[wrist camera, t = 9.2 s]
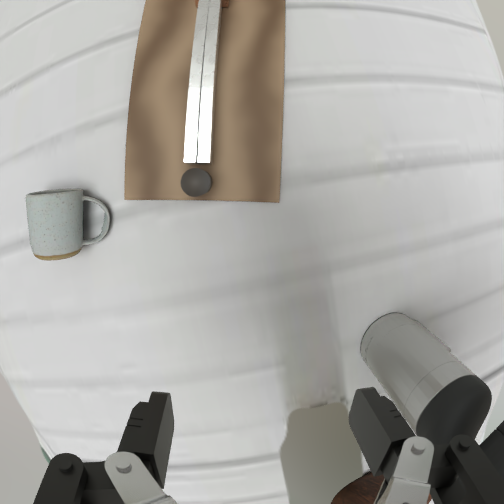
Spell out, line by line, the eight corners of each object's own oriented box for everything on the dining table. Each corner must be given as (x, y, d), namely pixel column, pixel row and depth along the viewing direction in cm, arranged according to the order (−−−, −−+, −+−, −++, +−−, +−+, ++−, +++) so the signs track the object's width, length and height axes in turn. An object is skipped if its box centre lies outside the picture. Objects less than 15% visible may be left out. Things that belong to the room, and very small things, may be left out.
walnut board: (283, -21, 29) (291, -46, 23) (277, 202, 36) (287, 206, 30) (153, -21, 28) (144, -45, 22) (127, 199, 35) (108, 203, 29)
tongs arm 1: (219, 164, 33) (217, 162, 29) (201, 164, 33) (197, 162, 29) (229, -10, 28) (230, -26, 24) (214, -10, 28) (213, -26, 24)
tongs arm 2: (199, 164, 33) (195, 162, 29) (182, 164, 33) (176, 162, 29) (214, -10, 28) (213, -26, 24) (198, -9, 28) (196, -26, 24)
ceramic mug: (49, 248, 35) (19, 262, 28) (46, 190, 33) (14, 193, 26) (114, 249, 36) (91, 264, 29) (112, 186, 34) (88, 187, 27)
